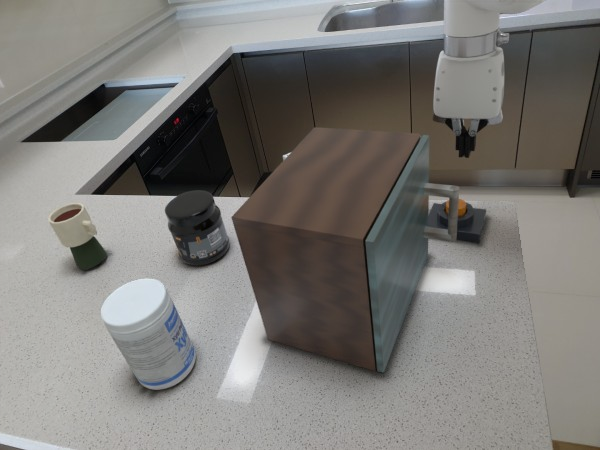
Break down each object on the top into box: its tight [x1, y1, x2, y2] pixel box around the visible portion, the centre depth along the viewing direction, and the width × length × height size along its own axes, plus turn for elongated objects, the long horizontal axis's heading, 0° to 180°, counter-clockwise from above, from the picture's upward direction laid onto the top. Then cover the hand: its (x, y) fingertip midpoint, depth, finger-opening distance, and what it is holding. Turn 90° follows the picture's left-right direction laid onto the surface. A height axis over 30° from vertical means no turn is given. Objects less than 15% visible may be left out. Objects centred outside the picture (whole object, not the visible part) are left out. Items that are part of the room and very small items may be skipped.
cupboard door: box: [365, 134, 460, 374], centre depth 66 cm, size 6×26×24 cm, turn 154°
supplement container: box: [164, 189, 230, 266], centre depth 92 cm, size 10×10×12 cm
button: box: [445, 198, 467, 217], centre depth 86 cm, size 4×4×2 cm
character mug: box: [47, 202, 108, 271], centre depth 95 cm, size 11×7×13 cm, turn 70°
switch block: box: [428, 200, 487, 244], centre depth 88 cm, size 10×8×4 cm
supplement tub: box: [100, 277, 197, 391], centre depth 68 cm, size 10×10×15 cm
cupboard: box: [230, 126, 422, 372], centre depth 72 cm, size 18×26×24 cm
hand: (465, 153), depth 78 cm, fingers closed
